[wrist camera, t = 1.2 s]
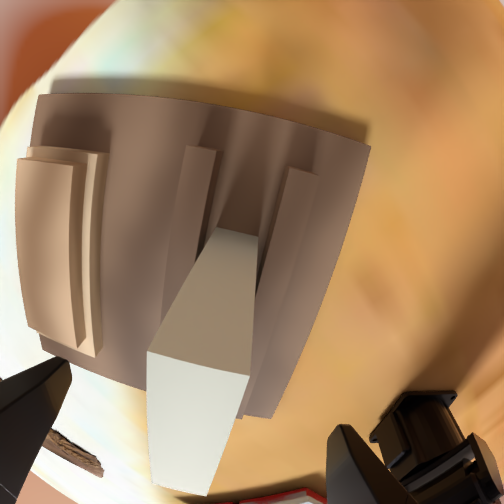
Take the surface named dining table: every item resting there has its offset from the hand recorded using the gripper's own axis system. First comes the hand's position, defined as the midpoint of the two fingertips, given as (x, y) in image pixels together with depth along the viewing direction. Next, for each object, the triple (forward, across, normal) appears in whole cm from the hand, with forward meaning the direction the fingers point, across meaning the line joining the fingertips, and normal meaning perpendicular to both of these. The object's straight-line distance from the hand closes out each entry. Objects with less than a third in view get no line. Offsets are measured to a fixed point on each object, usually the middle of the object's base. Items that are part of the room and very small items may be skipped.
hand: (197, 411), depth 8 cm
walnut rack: (+8, +4, 0) cm, 9 cm away
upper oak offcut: (+6, +10, -1) cm, 11 cm away
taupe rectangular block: (+7, 0, 0) cm, 7 cm away
